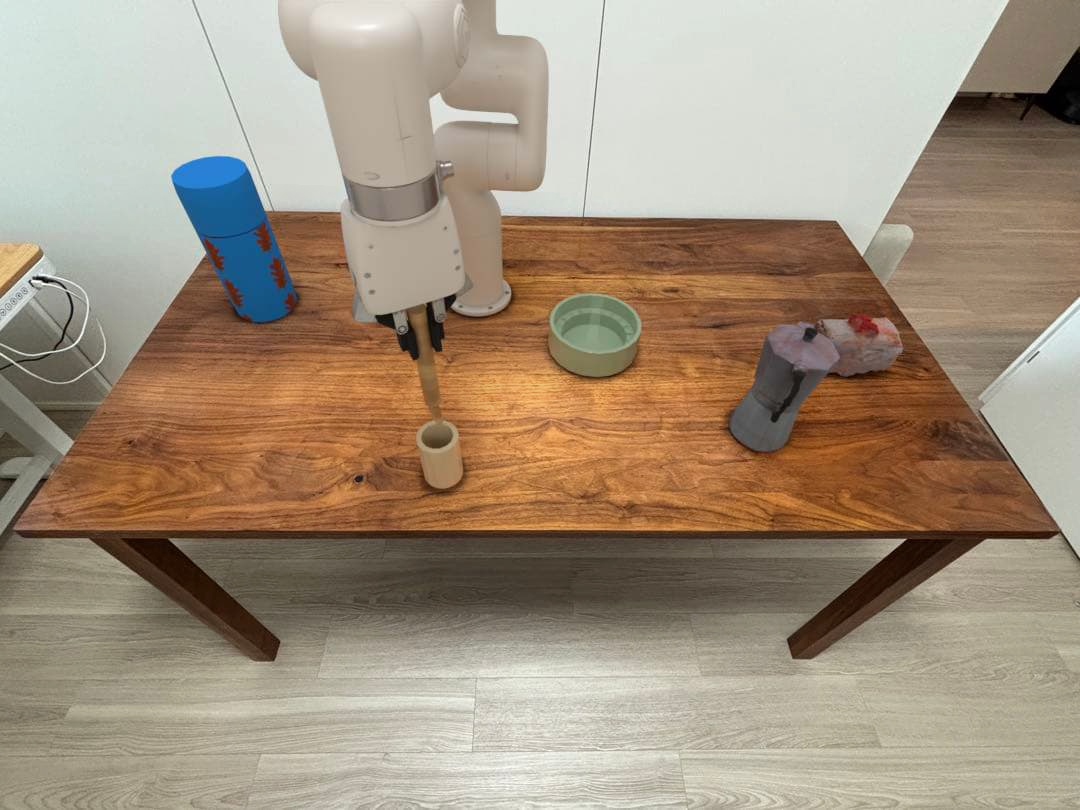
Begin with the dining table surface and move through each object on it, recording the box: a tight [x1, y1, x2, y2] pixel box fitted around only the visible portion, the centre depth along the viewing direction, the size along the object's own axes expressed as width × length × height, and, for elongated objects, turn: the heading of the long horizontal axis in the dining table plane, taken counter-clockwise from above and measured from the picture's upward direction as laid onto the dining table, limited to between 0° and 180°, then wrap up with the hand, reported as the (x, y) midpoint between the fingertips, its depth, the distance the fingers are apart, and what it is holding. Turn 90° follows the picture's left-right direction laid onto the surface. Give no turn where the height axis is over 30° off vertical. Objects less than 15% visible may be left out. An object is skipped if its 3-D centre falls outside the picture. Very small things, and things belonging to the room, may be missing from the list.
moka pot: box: [728, 320, 840, 453], centre depth 76 cm, size 10×15×20 cm, turn 161°
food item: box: [813, 313, 904, 378], centre depth 90 cm, size 14×8×10 cm, turn 96°
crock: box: [415, 419, 464, 489], centre depth 73 cm, size 5×6×9 cm
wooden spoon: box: [405, 303, 444, 425], centre depth 61 cm, size 3×2×18 cm
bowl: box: [547, 292, 642, 378], centre depth 92 cm, size 15×15×6 cm
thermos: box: [170, 155, 298, 323], centre depth 90 cm, size 11×11×25 cm
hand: (423, 347), depth 58 cm, fingers closed on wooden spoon, 2 cm apart
